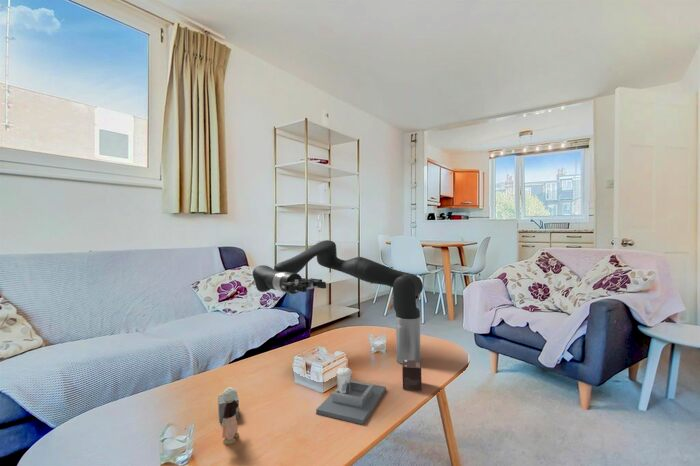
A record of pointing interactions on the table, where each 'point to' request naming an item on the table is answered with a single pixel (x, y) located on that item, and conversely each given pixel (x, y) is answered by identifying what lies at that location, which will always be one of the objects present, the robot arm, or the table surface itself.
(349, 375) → the milkshake
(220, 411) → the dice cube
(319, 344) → the table surface
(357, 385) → the dock
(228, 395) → the grandmother figurine
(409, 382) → the box
